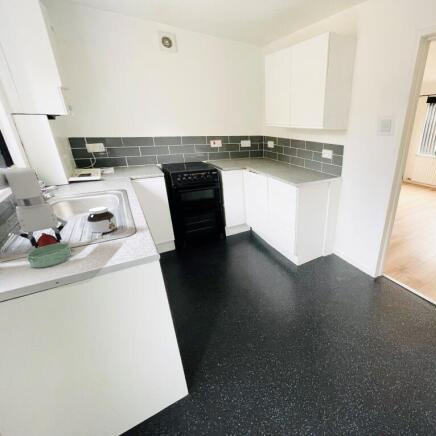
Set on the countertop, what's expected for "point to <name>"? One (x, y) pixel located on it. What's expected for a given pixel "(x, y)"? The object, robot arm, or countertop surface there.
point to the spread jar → (101, 220)
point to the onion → (46, 240)
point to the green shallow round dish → (40, 260)
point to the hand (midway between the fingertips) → (48, 244)
